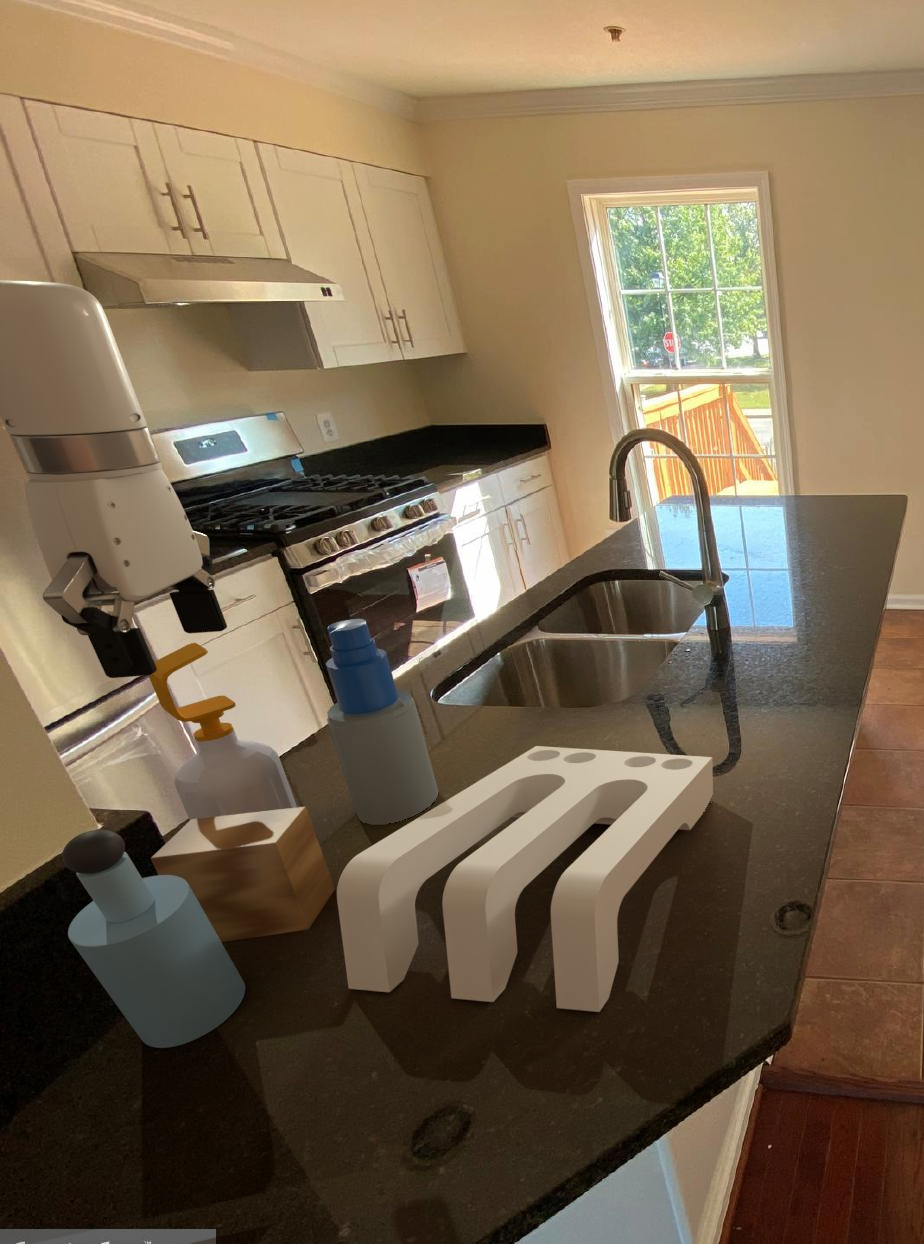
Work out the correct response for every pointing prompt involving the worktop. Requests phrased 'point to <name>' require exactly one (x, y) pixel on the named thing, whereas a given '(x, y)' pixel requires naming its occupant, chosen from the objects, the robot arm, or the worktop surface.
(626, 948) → the worktop surface
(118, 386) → the robot arm
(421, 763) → the spray bottle
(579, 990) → the bracket
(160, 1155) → the worktop surface
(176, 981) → the bottle
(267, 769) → the soap bottle
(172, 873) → the oak block
